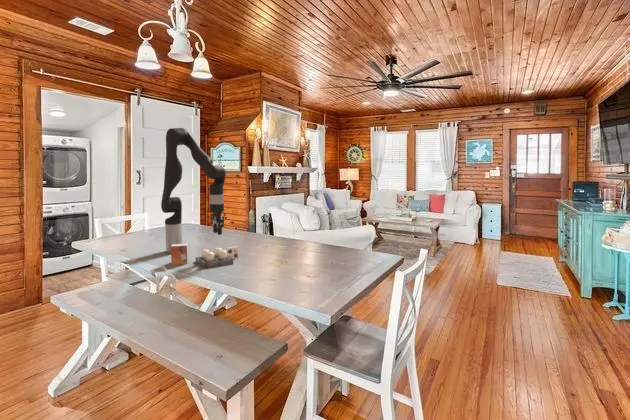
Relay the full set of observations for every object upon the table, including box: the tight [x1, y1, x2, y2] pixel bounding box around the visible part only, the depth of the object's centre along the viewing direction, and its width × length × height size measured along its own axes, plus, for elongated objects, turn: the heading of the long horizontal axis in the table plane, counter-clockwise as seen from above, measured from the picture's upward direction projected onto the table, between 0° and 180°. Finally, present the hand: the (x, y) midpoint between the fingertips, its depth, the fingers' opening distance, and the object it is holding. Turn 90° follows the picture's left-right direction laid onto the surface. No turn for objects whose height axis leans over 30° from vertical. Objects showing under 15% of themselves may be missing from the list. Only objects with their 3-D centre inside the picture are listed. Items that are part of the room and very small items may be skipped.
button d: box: [213, 247, 223, 257], centre depth 187 cm, size 4×4×4 cm
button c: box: [201, 249, 210, 259], centre depth 183 cm, size 4×4×4 cm
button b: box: [219, 249, 227, 260], centre depth 181 cm, size 4×4×4 cm
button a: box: [206, 251, 215, 262], centre depth 177 cm, size 4×4×4 cm
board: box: [195, 254, 234, 269], centre depth 182 cm, size 15×15×3 cm
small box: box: [170, 243, 189, 266], centre depth 181 cm, size 8×6×10 cm
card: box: [225, 246, 240, 260], centre depth 192 cm, size 3×7×7 cm, turn 127°
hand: (217, 233), depth 185 cm, fingers open, 5 cm apart
